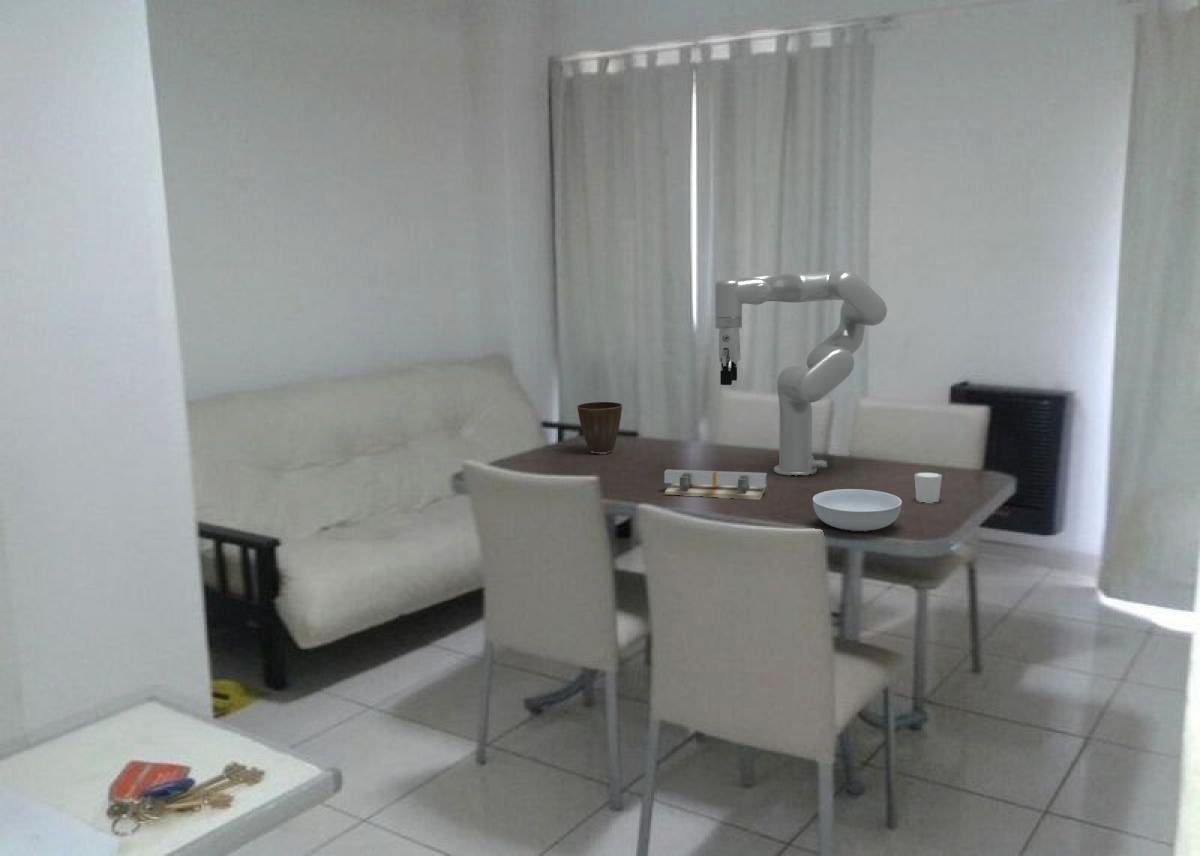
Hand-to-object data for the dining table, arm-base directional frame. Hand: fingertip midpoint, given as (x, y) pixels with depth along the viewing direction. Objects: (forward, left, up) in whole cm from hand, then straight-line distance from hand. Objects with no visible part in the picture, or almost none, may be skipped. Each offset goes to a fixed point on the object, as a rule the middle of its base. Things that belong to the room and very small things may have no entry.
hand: (728, 382), depth 297 cm
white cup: (-55, +17, -28) cm, 64 cm away
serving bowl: (-38, +46, -29) cm, 66 cm away
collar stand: (+1, +18, -28) cm, 34 cm away
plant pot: (+48, -31, -28) cm, 64 cm away
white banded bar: (+1, +18, -26) cm, 31 cm away
